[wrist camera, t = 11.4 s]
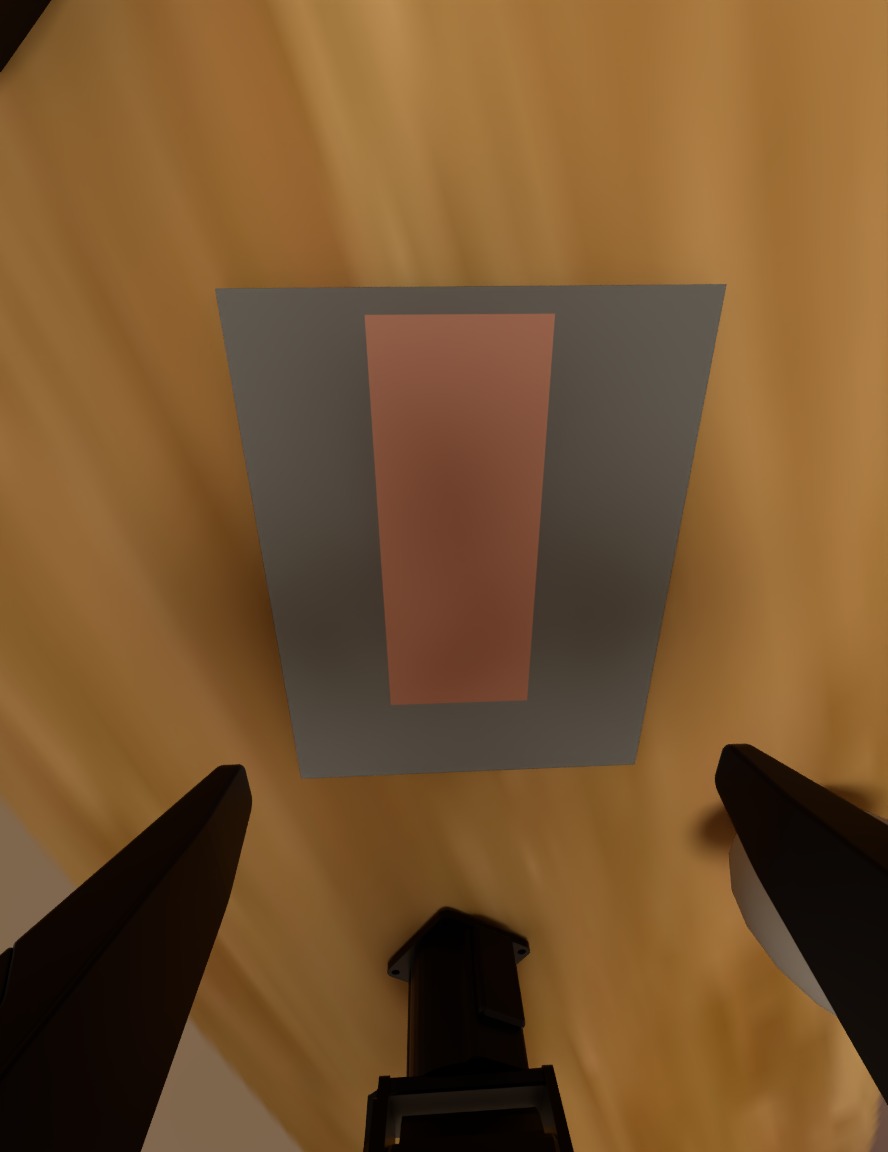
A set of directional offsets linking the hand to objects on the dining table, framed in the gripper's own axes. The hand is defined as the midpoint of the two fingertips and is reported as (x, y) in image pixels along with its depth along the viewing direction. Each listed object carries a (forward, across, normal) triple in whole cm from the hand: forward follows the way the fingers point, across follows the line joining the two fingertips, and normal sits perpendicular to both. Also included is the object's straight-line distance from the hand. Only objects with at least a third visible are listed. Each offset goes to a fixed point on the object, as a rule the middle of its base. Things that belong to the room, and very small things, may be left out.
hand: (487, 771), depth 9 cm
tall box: (+9, 0, +4) cm, 10 cm away
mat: (+11, -1, +1) cm, 11 cm away
